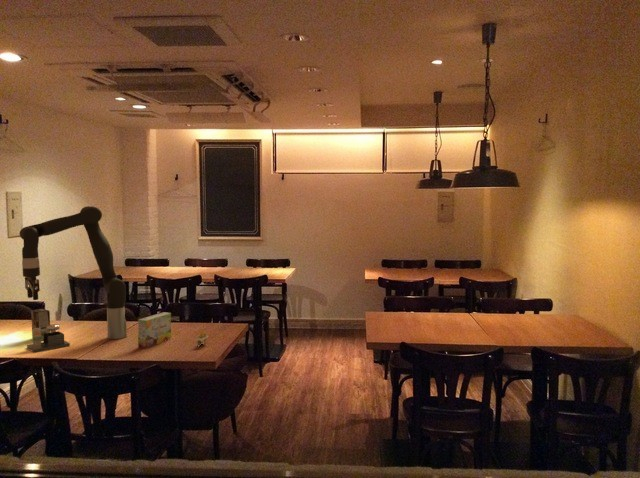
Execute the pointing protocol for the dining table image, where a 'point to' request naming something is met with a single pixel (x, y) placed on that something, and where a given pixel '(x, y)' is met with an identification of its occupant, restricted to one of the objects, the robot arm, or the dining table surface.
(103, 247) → the robot arm
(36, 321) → the coffee box
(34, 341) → the stand
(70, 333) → the dining table surface
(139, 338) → the snack box
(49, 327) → the plunger
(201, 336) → the pale green irregular piece
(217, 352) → the dining table surface
